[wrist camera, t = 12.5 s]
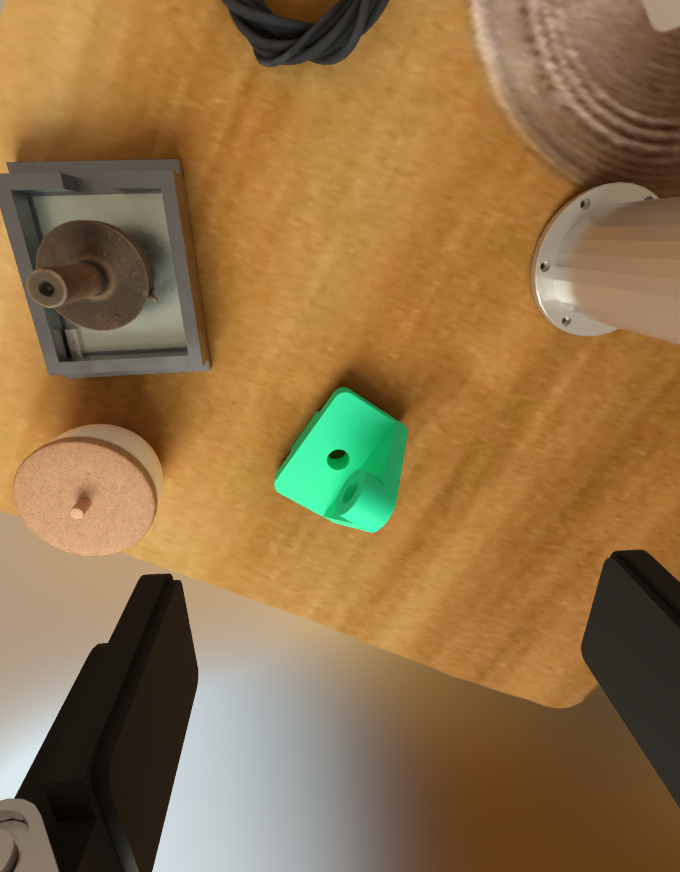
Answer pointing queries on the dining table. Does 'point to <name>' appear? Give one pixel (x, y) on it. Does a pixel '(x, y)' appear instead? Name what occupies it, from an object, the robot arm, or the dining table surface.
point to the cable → (304, 31)
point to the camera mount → (346, 463)
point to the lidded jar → (90, 489)
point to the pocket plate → (152, 230)
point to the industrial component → (92, 275)
